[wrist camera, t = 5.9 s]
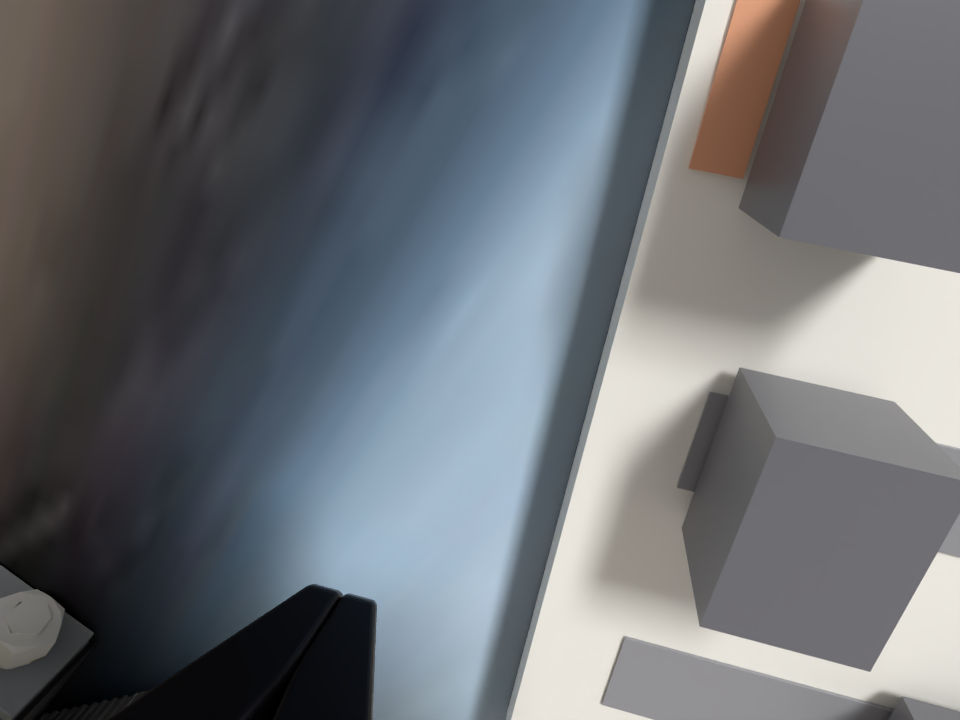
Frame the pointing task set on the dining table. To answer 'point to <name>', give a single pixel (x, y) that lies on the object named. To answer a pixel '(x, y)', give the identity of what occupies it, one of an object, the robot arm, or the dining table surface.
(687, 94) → the switch board
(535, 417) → the dining table surface
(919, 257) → the grey plastic block
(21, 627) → the electrical component
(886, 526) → the grey block
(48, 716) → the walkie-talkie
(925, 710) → the grey squarish block
